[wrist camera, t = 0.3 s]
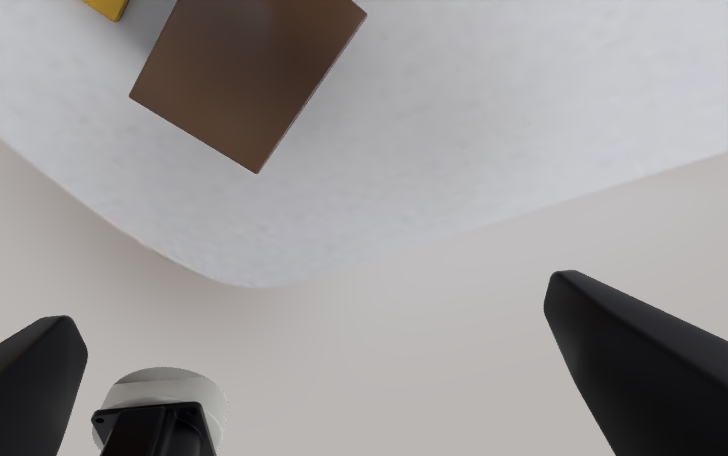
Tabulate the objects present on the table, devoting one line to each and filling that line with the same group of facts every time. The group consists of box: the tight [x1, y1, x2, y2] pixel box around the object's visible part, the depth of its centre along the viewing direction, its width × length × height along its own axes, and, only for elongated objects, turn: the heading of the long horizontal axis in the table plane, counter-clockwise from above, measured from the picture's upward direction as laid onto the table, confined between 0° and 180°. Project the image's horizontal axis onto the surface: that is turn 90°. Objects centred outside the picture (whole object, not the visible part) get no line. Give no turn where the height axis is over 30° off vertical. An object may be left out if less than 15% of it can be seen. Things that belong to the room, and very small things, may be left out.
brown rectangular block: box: [129, 0, 367, 174], centre depth 16 cm, size 7×5×4 cm
